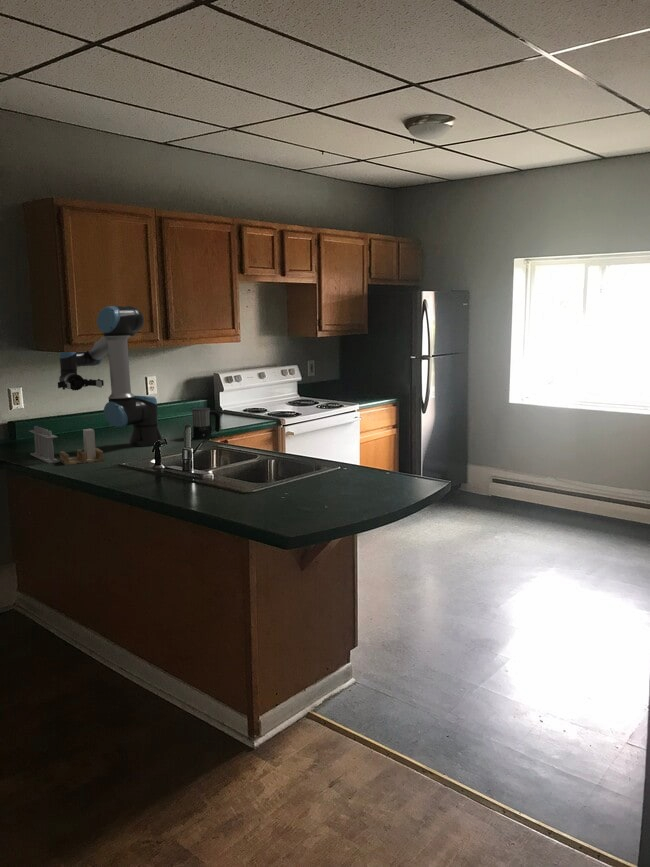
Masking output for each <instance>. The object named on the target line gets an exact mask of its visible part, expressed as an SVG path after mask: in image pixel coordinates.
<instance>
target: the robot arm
mask: <svg viewBox="0 0 650 867" xmlns="http://www.w3.org/2000/svg"><path fill="white" fill-rule="evenodd" d="M144 318H145V317H144V315H143V313H142V311H141V310H140V309H138V308H137V307H135V306H130V305H128V306H126V305H125V306H123V305H121V306H120V305H109V306H104V307H102V308H101V310H100V311H99V312H98V314H97V317H96V324H97V329H99V331H100V332H102V333H103V336H102V337H101V338H99V339H98V340H97V341H95V343H94V346H93V348H92V349H91V351H87V352H58V353H59V365H60V366H59V367H60V368H59V369H60V372H59V373H60V375H59V378H58V380H59V381H58V382H57V388H58V389H61V388H62V390H66V389H68V390H71V391H79V390H82V388H85V387H86V388H87V387H97V388H101V389H102V388H103V386H104V379H100V378H97V379H92V378H91V379H88V378H83V377H82V375H79V374H78V367H89V366H90V367H94V366H99V365H100V364H101V363H102V361H103V358H104V357H105V356H106V355H107V354H108V364H109V365H108V366H109V377H110V379H109V380H110V390H111V393H110V394H109V396H108V397H107V398H108V402H107V403H105V405H104V407H103V414H104V417H105V420H106V422H108V423H109V425H111V426H112V427H116V428H117V427H119V428H120V427H123V428H124V427H125V426H131V425H132V431H131V434H130V437H129V445H130V446H133V447H152V446H153V447H154V446H155V445H154V443H155V442H156V441H158V440H162V441H163V437H162V434H161V432H160V429H159V423H158V422H159V421H158V419H159V417H158V402H157V400H158V399H157V398H156V397H155V396H149V395H134V393H132V390H131V389H132V388H131V375H130V373H131V372H130V361H129V360H130V359H129V346H128V344H129V343H128V339H129V338H131V337H133V336H135V335H137V333H139V332H140V331H141V330H142V328H143V326H144V324H145V319H144Z"/></svg>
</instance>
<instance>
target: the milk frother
mask: <svg viewBox="0 0 650 867" xmlns="http://www.w3.org/2000/svg"><path fill="white" fill-rule="evenodd" d="M191 412H192V415H191V416H192V434H193V435H192V438H193V439H196V440H205V439H211V438H212V431H213V430H215V432H216V433H219V432H220V427H221V426H220V423H221V417H220V414H219V412H218V411H216V410H211V408H210V407H194V408H191ZM211 415H213V416H214V417H215V418H214V427H215V428H213V427H212V419H211Z"/></svg>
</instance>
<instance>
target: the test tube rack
mask: <svg viewBox="0 0 650 867" xmlns="http://www.w3.org/2000/svg"><path fill="white" fill-rule="evenodd" d="M28 432H30V433H32V434H33V436H34V448H35V449H34V452H31V453H30V456H32V457H35V458H36V459H38V460H41V461H42V462H45V463H47V464H49V465H50V464H56V463H61V462H60V459H57V458H55V454H54V452H55V451H54V442H53V441H54V439H55V438H58V437H59V436H57V435H55V434H52V433H53V432H52V430H48V429H47V428H46V429H45V428H44V427H42V426H39V425H34V426H33V429H32V430H31V429H30V430H28Z"/></svg>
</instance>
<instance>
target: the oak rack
mask: <svg viewBox="0 0 650 867" xmlns="http://www.w3.org/2000/svg"><path fill="white" fill-rule="evenodd" d="M95 451H96V458H92V459H87V458H86V453H85V452H84V450H82V449H76V456H73V457H70V454H68V453H67V452H65V451H59V461H60V462H59V463H62V464H63V465H64V466H68V465H69V466H70V465H76V464H77V463H79V464H86V462H88V463H95V462H94V461H97V462H104V461H105V458H104V451H103V450H102V449H100V448H98V447H95Z"/></svg>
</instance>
